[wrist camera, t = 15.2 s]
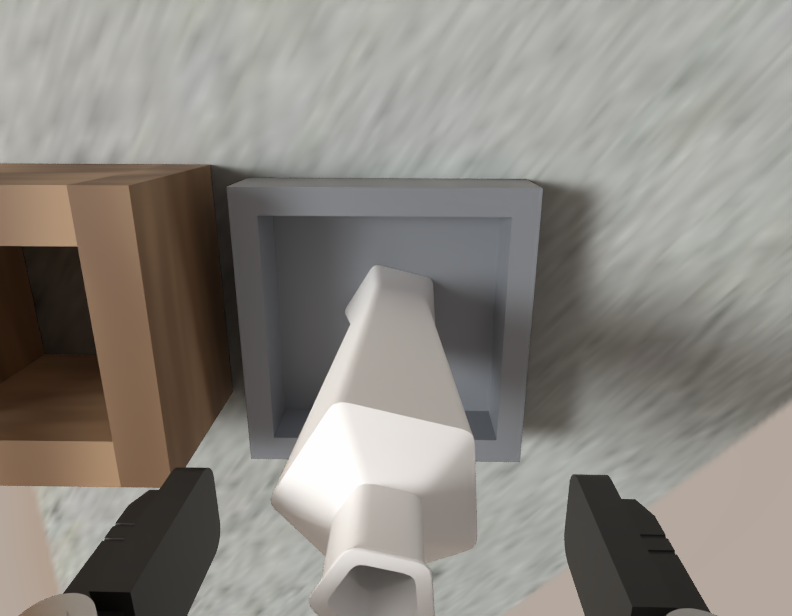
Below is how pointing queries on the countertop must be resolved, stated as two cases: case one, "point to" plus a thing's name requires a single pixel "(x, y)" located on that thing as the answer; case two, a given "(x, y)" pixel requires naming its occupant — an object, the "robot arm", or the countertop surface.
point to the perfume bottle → (383, 458)
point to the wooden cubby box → (112, 324)
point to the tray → (347, 268)
